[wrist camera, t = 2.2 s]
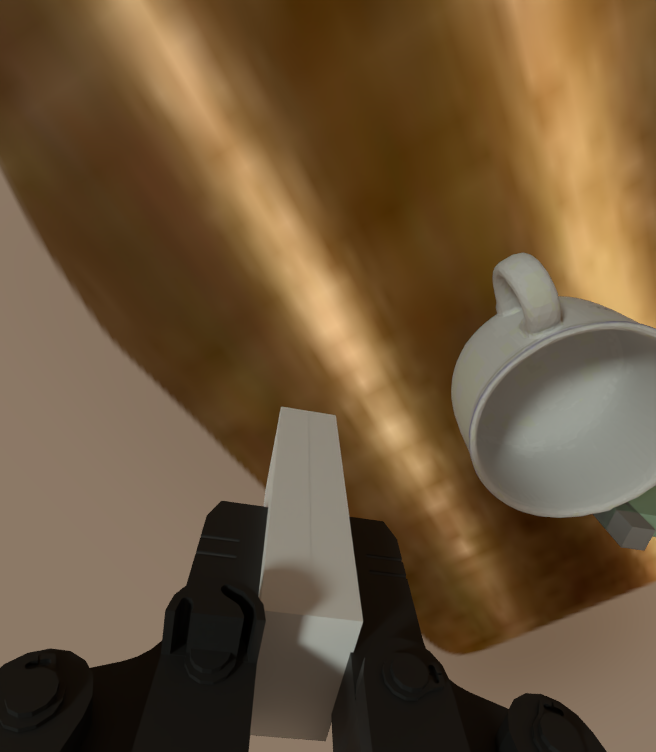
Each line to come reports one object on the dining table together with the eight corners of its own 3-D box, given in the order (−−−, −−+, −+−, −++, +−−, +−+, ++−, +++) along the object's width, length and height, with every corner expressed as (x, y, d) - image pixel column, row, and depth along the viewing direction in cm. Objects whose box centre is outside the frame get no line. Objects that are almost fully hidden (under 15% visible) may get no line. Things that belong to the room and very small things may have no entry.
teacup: (610, 419, 31) (704, 494, 24) (449, 462, 32) (491, 547, 25) (597, 203, 26) (713, 213, 19) (404, 260, 27) (441, 292, 19)
